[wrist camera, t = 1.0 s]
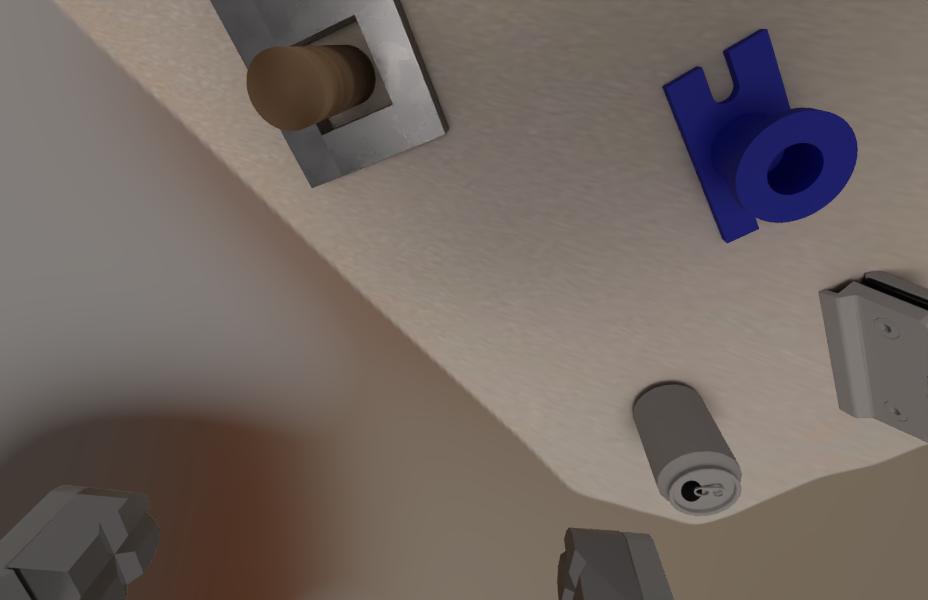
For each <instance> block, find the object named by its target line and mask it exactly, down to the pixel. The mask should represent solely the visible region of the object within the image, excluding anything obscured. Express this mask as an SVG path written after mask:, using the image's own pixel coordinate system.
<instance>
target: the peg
mask: <svg viewBox="0 0 928 600" xmlns="http://www.w3.org/2000/svg"><path fill="white" fill-rule="evenodd" d="M374 86H375V71H374V68H373V65H372V63H371V61H370V59H369V58H368V57H367V55H366V54H365V53H364V52H362V51H361V50H360V49H358V48H356V47H354V46H350V45H325V46H290V47H271V48H268V49H265V50H263V51H261V52H260V53H259V54H257V55H256V56H255V57H254V59H253V60H252V62H251V64H250V66H249V69H248V72H247V90H248V94H249V97H250V100H251V102H252V104H253V106H254V108H255V109H256V111H257V112H258V113H259V115H260V116H261V117H262V118H263V119H264V120H265V121H267V122H268V123H269V124H271V125H273V126H274V127H277V128H279V129H282V130H286V131H298V130H302V129H305V128H307V127H309V126H311V125H313V124H316V123H318V122H320V121H322V120H325V119H327V118H329V117H331V116H334V115H336V114H338V113H340V112H343V111H345V110H347V109H349V108H352V107H354V106H356V105H358V104H361V103H363V102H364V101H366V100H367V99H368V98H369V97H370V95H371V94H372V92H373V90H374Z"/></svg>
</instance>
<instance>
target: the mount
mask: <svg viewBox="0 0 928 600" xmlns="http://www.w3.org/2000/svg"><path fill="white" fill-rule="evenodd" d="M723 53H724V56H725V59H726V62H727V65H728V68H729V71H730V74H731V77H732V80H733V84H734V87H733V91H732V93H731V95H730V96H729V97H728V98H727V99H726V100H724V101H722V102H718V103H716V102H715V101H714V99H713V97H712V94H711V91H710V89H709V86H708V83H707V80H706V77H705V75H704V72H703V69H702V67H695V68H693V69H692V70H690V71H688V72H687V73H685V74H683V75H682V76H680V77H678V78H676V79H675V80H673V81H671V82H670V83H668V84H666V85H664V86H663V89H664V92H665V94H666V97H667V100H668V102H669V105H670V107H671V110H672V112H673V115H674V117H675V120H676V122H677V125H678V127H679V130H680V132H681V135H682V138H683V140H684V143H685V145H686V148H687V150H688V153H689V155H690V158H691V160H692V163H693V165H694V168H695V170H696V173H697V176H698V178H699V181H700V183H701V186H702V188H703V191H704V193H705V196H706V198H707V201H708V203H709V206H710V208H711V211H712V214H713V216H714V219H715V221H716V224H717V226H718V229H719V231H720V234H721V236H722V239H723V240H724V241H725V242H726V243H729V242H731V241H734V240H736V239H738V238H740V237H742V236H744V235H747V234H749V233H751V232H753V231H755V230H757V229H759V227H758V224H757V221H756V218H758V219H761V220H764V221H767V222H775V223H782V222H790V221H795V220H799V219H802V218H805V217H807V216H809V215H811V214H813V213H815V212H817V211H819V210H820V209H822V208H823V207H824V206H826V205H827V204H828V203H830V202H831V201H832V200H833V199H834V198H835V197H836V196H837V195H838V194H839V193H840V192H841V190H842V189H843V188H844V187H845V185H846V184H847V182H848V180H849V179H850V177H851V175H852V172H853V170H854V167H855V164H856V159H857V150H858V148H857V140H856V137H855V134H854V132H853V130H852V128H851V127H850V126H849V124H848V123H847V122H846V121H845V120H844V119H842V118H841V117H839V116H837V115H836V114H833V113H830V112H826V111H822V110H817V109H813V108H794V109H790V106H789V102H788V99H787V96H786V92H785V89H784V85H783V82H782V78H781V75H780V71H779V68H778V65H777V61H776V58H775V54H774V51H773V47H772V44H771V40H770V37H769V34H768V30H767V29H760V30H758V31H757V32H755V33H753V34H751V35H750V36H748V37H746V38H745V39H743V40H741V41H740V42H738V43H736V44H734V45H733V46H731V47H729V48H728V49H726V50H724V51H723ZM755 217H756V218H755Z"/></svg>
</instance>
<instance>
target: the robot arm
mask: <svg viewBox="0 0 928 600" xmlns="http://www.w3.org/2000/svg"><path fill="white" fill-rule="evenodd" d="M150 506H151V505H150V503H149V500H148V498H147V496H146V494H145V493H136V492H126V491H117V490H108V489H97V488H90V487H78V486H66V485H62V486H60V487H58V488H56V489H54V490H52V491H51V492H50V493H48V494H47V495H46V496H45V498H44V499H42V500H41V501H40V502H39V503H38V504H37V505H36V506H35V507H34V508H33V509H32V510H31V511H30V512H29V513H28V514H27V515H26V516H25V517H24V518H23V519H22V520H21V521H20V522H19V523H18V524H17V525H16V526H15V527H14V528H13V529H12V530H11V531H10V532H9V533H8V534H7V535H6V536H5V537H4V538H3V539H2V540H0V600H126V598H127V584H128V583H130V582H131V581H133V580H134V579H135V578H137V577H138V576H140V575H141V574H142V573H144V571H145V569H146V568H147V566H148V565H149V564H150V562H151V560H152V559H153V557H154V554H155V551H156V549H157V546H158V543H159V527H158V524H157V521H156V520H155V519H153V518H152V517H151V516H150V515H149V514H147V513H146V511H147V510H148V508H149V507H150ZM564 542H565V550H566V551H565V552H564V553H562V554H561V555H560V559H559V564H558V577H557V584H558V598H559V600H674V599H673V596H672V593H671V590H670V587H669V584H668V581H667V578H666V575H665V573H664V570H663V567H662V564H661V561H660V558H659V555H658V552H657V550H656V547H655V544H654V541H653V539H652V538H651V536H650V535H649V534H646V533H632V532H620V531H615V530H600V529H585V528H571V527H570V528H568V529H567V531H566V534H565V538H564Z"/></svg>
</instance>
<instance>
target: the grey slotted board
mask: <svg viewBox="0 0 928 600" xmlns="http://www.w3.org/2000/svg"><path fill="white" fill-rule="evenodd" d="M210 1H211V3H212V4H213V6H214V8H215V10H216V12H217V14H218V15H219V17H220V19H221V21H222V23H223V25H224V27H225V28H226V30H227V32H228V34H229V36H230V38H231V40H232V41H233V43H234V45H235V47H236V49H237V51H238V52H239V54H240V56H241V58H242V60H243V62H244V64H245V65H246V67H247V69H249V66H250V64H251V62H252V60H253V59H254V57H255V56H256V55H257V54H259V53H260V52H261V51H263V50H265V49H268V48H271V47H290V46H305V45H307V44H309V43H311V42H313V41H315V40H317V39H320V38H322V37H324V36H326V35H328V34H330V33H332V32H334V31H336V30H338V29H340V28H342V27H344V26H346V25H348V24H350V23H352V22H354V21H356V20H357V21H358V24H359V26H360V28H361V31H362V33H363V35H364V38H365V40H366V42H367V45H368V47H369V49H370V52H371V54H372V56H373V59H374V61H375V64H376V66H377V68H378V71H379V73H380V75H381V78H382V80H383V82H384V85H385V87H386V89H387V92H388V94H389V96H390V99H391V101H392V103H393V104H391V105H389V106H386V107H384V108H382V109H379V110H377V111H375V112H373V113H370V114H368V115H366V116H363V117H361V118H359V119H356V120H354V121H352V122H349V123H347V124H345V125H342V126H340V127H338V128H336V129H333V128H332V126H331V124H330V122H329V120H328V118H327V119H325V120H322V121H320V122H318V123H316V124H313V125H311V126H309V127H307V128H305V129H302V130H298V131H286V130H282V129H280V130H281V132H282V134H283V136H284V137H285V139H286V141H287V143H288V145H289V147H290V149H291V150H292V152H293V154H294V156H295V158H296V160H297V162H298V163H299V165H300V167H301V169H302V171H303V173H304V174H305V176H306V178H307V180H308V182H309V184H310V186H311V187H312V188H314V187H316V186H319V185H321V184H324V183H326V182H329V181H331V180H333V179H336V178H338V177H341V176H343V175H346V174H348V173H351V172H353V171H356V170H358V169H361V168H363V167H366V166H368V165H371V164H373V163H376V162H378V161H381V160H383V159H385V158H388V157H390V156H393V155H395V154H398V153H400V152H403V151H405V150H408V149H410V148H413V147H415V146H418V145H420V144H423V143H425V142H428V141H430V140H433V139H435V138H438V137H440V136H442V135H445V134H446V133H447V131H448V129H449V126H448V124H447V121H446V119H445V116H444V113H443V111H442V108H441V106H440V103H439V100H438V98H437V95H436V93H435V90H434V87H433V85H432V82H431V80H430V77H429V74H428V72H427V69H426V67H425V64H424V61H423V59H422V56H421V54H420V51H419V48H418V46H417V43H416V41H415V38H414V35H413V33H412V30H411V28H410V25H409V22H408V20H407V17H406V15H405V12H404V9H403V7H402V4H401V2H400V0H210Z"/></svg>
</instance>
